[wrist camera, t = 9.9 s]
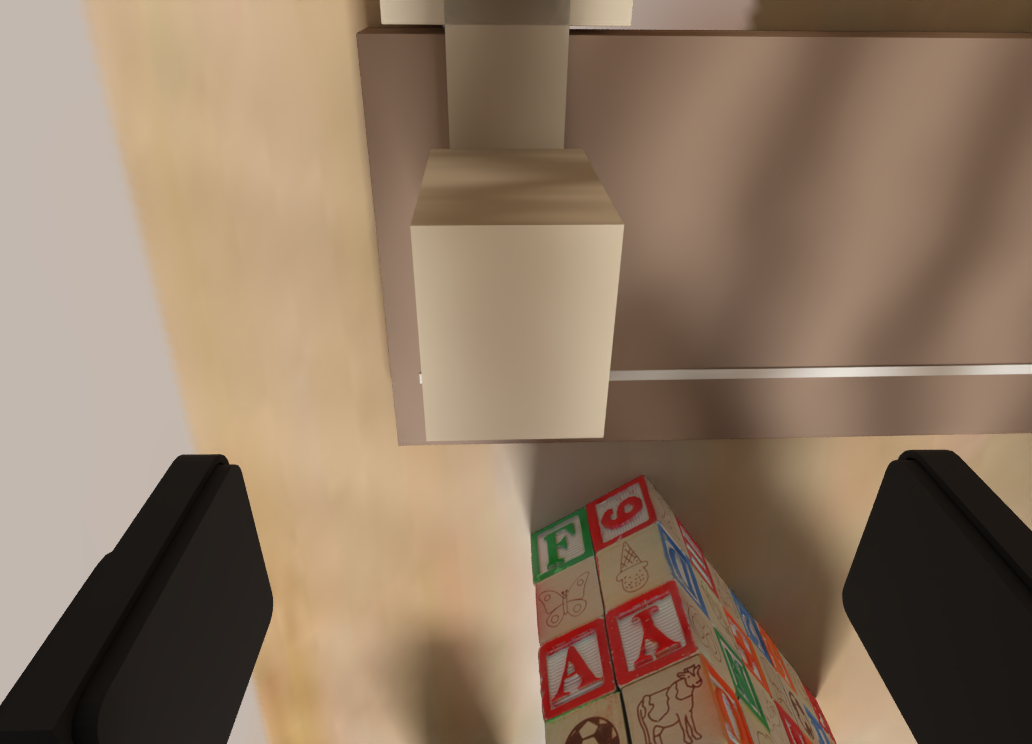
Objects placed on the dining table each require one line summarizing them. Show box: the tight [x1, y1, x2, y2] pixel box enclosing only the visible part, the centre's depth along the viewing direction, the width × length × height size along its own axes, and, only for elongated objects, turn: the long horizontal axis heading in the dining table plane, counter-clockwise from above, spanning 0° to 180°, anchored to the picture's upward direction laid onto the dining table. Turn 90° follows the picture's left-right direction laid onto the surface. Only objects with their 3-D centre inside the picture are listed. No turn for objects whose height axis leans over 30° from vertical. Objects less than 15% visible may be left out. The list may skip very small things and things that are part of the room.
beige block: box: [380, 0, 633, 441], centre depth 18 cm, size 6×15×10 cm, turn 179°
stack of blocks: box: [531, 475, 836, 744], centre depth 30 cm, size 21×6×12 cm, turn 35°
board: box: [356, 28, 1032, 446], centre depth 23 cm, size 26×14×2 cm, turn 89°
